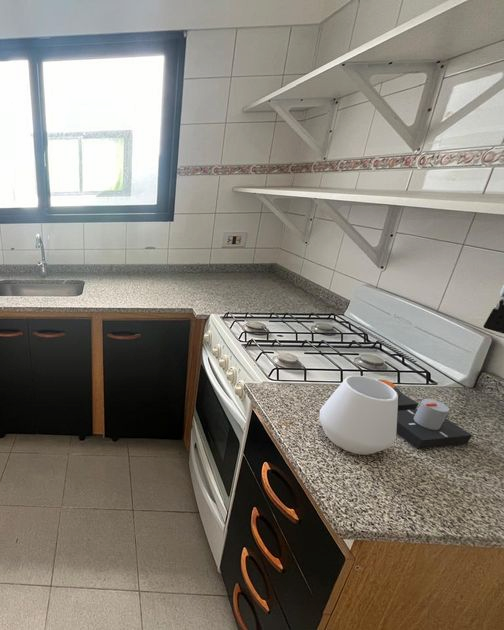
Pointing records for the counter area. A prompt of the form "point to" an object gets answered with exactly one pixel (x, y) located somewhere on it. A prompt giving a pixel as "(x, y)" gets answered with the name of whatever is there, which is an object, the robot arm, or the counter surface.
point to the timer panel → (429, 432)
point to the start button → (388, 383)
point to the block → (405, 401)
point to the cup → (361, 415)
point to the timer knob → (431, 414)
